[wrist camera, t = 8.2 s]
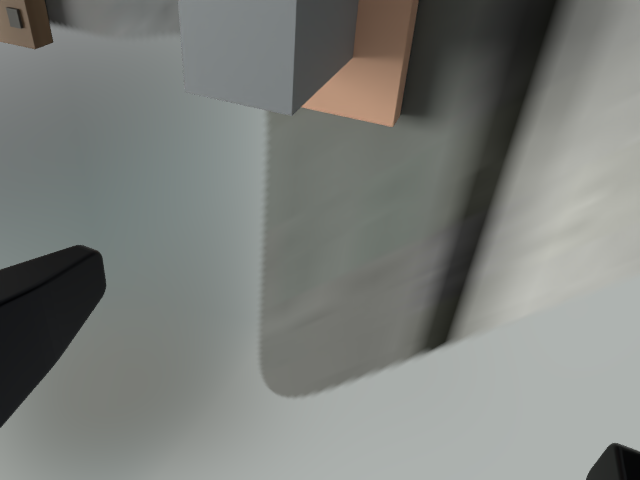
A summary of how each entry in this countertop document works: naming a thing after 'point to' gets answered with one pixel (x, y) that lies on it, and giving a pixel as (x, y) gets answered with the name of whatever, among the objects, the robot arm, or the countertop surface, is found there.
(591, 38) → the countertop surface
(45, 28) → the board
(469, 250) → the countertop surface
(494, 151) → the countertop surface
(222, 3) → the stub
